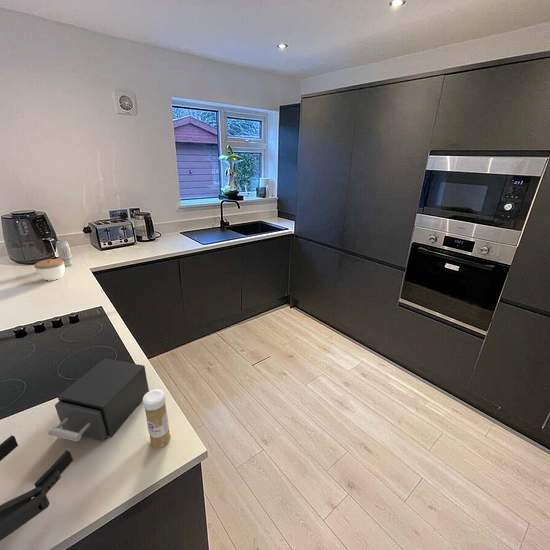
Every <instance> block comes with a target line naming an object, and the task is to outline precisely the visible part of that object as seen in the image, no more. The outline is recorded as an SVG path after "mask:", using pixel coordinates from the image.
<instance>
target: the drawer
mask: <svg viewBox="0 0 550 550" xmlns="http://www.w3.org/2000/svg"><path fill="white" fill-rule="evenodd" d="M54 407H55V410H56V414H57V416H58V419H59V423H58V424H57V425H56V426H52V427H51V428H50V429H49V430H48V435H50V436H53V437H56V438H61V439H65V440H69V441H72V442H79V441H80V440H81V439H82V436H86V437H91V438H94V439H98V440H101V441H102V440H105V439H106V438H107V433H106V429H105V428H106V425H105V421H104V418H103V414H102V410H101V409H99V408H95V407H91V406H86V405H82V404H78V403H73V402H69V401H68V403H65V402H60V401H59V400H58V402H56V403H55V404H54Z"/></svg>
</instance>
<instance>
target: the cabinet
mask: <svg viewBox="0 0 550 550" xmlns="http://www.w3.org/2000/svg"><path fill="white" fill-rule="evenodd" d="M149 391H150V389H149V383H148V379H147V372H146V366H145V365H143V364H138V363H133V362H129V361H128V362H127V361H123V360H117V359H111V358H106V357H104V358H103V359H102V360H101V361H99V362H98V363H97V364H95V365H94V366H93V367H92V368H90V369H89V370H88V371H87V372H86V373H85V374H83V375H82V376H81V377H80V378H78V379H77V380H76V381H75V382H74V383H72V384H70V386H69V387H67V388H66V389H65V390H63V391H62V392H61V393H60V394H58V396H57V399H58V402H59V401H60V402H65V403H68V401H69V402H73V403H78V404H82V405H86V406H91V407H95V408H99V409H101V410H102V414H103V418H104V421H105V425H106V428H105V429H106V433H107V436H106V438H107V437H108V438H112V437H114V435H115V434H116V433H117V432H118V431H119V429H120V428H121V427H122V425H124V423H126V421H127V420H128V419H129V417H130V416H131V415H132V414H133V413H134V412H135V410H136V409H137V408H138V407H139V406H140V405H141V403H143V397H144V395H145V394H146V393H148V392H149Z"/></svg>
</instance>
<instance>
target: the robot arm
mask: <svg viewBox="0 0 550 550" xmlns="http://www.w3.org/2000/svg"><path fill="white" fill-rule="evenodd" d="M17 447H19V444H18V441H17V439H16V436H14V435H10V436H9V437H8V438H6V439H5V440H4V441H3V442H1V443H0V462H2V461H3V460H4V459H5V458H6V457H7V456H8V455H9V454H10V453H12V452H13V451H14V450H16V449H17ZM73 461H74V459H73V456H72V453H71V451H70V450H65V451H64V452H63V453H62V454H61V455H60V456H59V457H58V459H57V460H56V461H55V462H53V464H52V465H50V467H49V468H48V469H47V470H46V471H45V472H44V473H43V474H42V475H41V476H40V477H39V478H38V479H37V480H36V481H35V482H34V483H33V484H34V485H33V486H34V488H32V489H30V490H28V491H26V492H24V493H22V494H20V495H17V496H16V497H14V498H12V499H10V500H8V501H6V502H4V503H2V504H0V542H2V541H3V540H4V539H6V538H7V537H8V536H10V535H11V534H13V533H14V532H16V530H18V529H20V528H21V527H23V526H24V525H25V524H27V523H28V522H29V521H31V520H32V519H33V518H35V517H37V516H38V515H39V514H41V513H42V512H43V511H45V510H46V509H48V507H49V506H50V504H51V503H50V500H49V499H48V495H47V494H48V493H49V492H50V490H51V489H52V488H53V487H54V486H55V485H56V484H57V483H58V482H59V480H60V479H61V477H62V474H63V473H64V472H65V470H66V469H68V467H69V466H70V465H71V464H72V462H73Z"/></svg>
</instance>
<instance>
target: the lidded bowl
mask: <svg viewBox="0 0 550 550" xmlns="http://www.w3.org/2000/svg"><path fill="white" fill-rule="evenodd" d="M33 266H34V268H35V271H36V273H37V275H38V276H39V277H40V278H41V279H43V280H44V281H46V280H48V281H47V282H52V281H51V280H54V281H57V280H56V279H58V280H60V279H62V278H63V276H64V275H65V272H66V267H65V265H64V261H63V260H61V259H60V258H47V259H45V260H40V261H38V262H36V263H34V264H33ZM61 277H62V278H61ZM59 278H60V279H59Z"/></svg>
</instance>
